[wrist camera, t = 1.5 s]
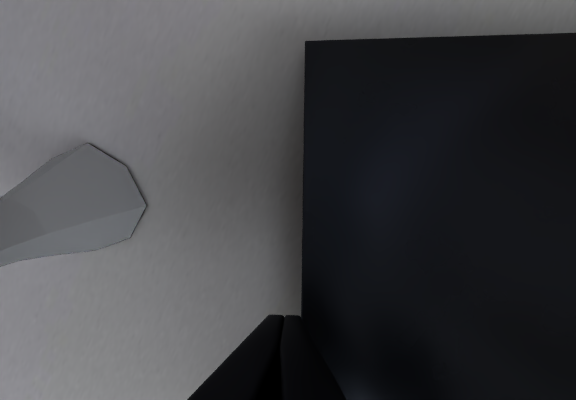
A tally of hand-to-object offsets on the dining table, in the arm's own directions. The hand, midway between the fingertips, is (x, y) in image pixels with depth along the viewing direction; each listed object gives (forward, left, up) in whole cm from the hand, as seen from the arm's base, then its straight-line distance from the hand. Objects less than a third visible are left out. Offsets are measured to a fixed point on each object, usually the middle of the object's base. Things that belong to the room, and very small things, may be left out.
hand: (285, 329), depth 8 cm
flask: (+6, +13, -13) cm, 20 cm away
